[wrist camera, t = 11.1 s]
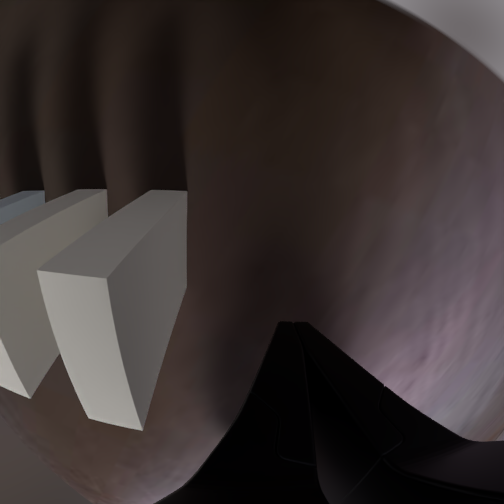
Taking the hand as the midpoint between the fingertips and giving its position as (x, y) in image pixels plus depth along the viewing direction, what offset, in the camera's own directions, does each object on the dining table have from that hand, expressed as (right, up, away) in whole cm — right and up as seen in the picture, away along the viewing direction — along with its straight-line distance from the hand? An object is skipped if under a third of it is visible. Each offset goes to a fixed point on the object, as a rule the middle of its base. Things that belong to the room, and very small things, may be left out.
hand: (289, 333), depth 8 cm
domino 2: (-9, +3, +6) cm, 11 cm away
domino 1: (-5, +3, +6) cm, 8 cm away
